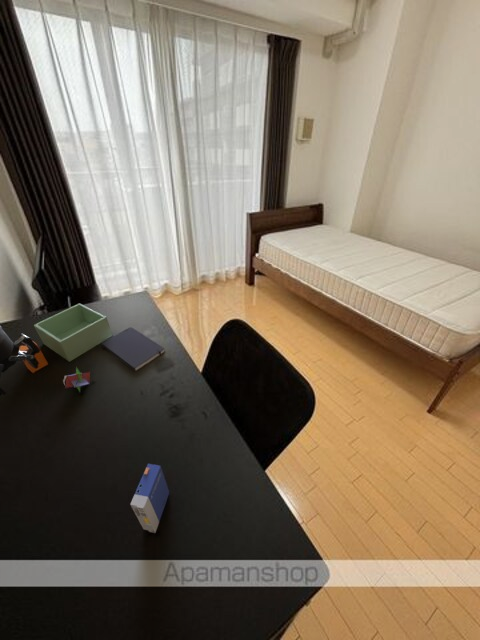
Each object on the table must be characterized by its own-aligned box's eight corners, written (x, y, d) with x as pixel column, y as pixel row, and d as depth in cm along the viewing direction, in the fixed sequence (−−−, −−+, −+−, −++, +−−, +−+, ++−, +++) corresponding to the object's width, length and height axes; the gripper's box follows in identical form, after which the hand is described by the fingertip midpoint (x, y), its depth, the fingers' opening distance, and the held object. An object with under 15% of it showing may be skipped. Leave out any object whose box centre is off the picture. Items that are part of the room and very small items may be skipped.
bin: (43, 343, 107) (33, 325, 101) (86, 321, 118) (79, 303, 113) (69, 361, 98) (59, 342, 93) (112, 335, 110) (106, 316, 105)
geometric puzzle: (92, 367, 93) (69, 360, 86) (100, 378, 89) (77, 372, 82) (78, 386, 92) (54, 380, 86) (86, 398, 88) (62, 393, 82)
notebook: (102, 345, 105) (135, 371, 94) (100, 342, 104) (134, 368, 93) (131, 329, 113) (165, 351, 102) (130, 326, 112) (165, 348, 101)
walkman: (157, 490, 64) (147, 462, 57) (169, 492, 64) (160, 464, 57) (142, 531, 58) (128, 505, 51) (155, 533, 57) (142, 508, 50)
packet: (27, 368, 96) (15, 348, 91) (43, 360, 99) (31, 340, 94) (33, 372, 94) (20, 352, 89) (48, 364, 98) (37, 344, 92)
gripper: (3, 310, 64) (34, 352, 76) (-69, 355, 55) (-21, 395, 67) (26, 324, 62) (55, 365, 74) (-44, 373, 53) (1, 410, 65)
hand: (19, 379), depth 70 cm, fingers open, 8 cm apart
